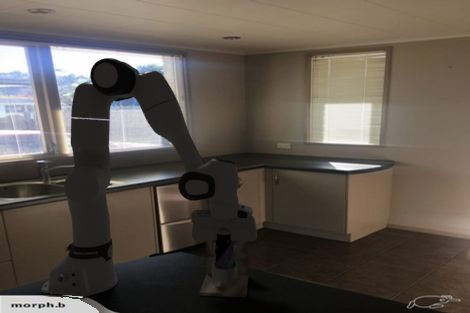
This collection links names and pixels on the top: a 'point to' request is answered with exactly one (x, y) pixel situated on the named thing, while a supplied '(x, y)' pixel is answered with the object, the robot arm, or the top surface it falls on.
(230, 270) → the ring
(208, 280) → the brown l-shaped piece
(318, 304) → the top surface
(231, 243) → the spray can
